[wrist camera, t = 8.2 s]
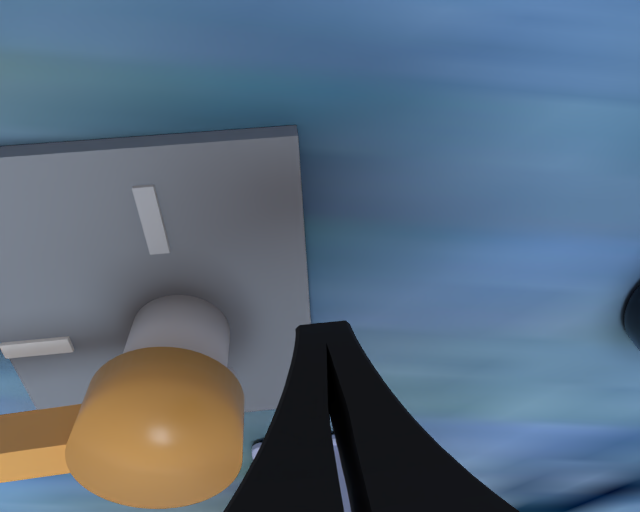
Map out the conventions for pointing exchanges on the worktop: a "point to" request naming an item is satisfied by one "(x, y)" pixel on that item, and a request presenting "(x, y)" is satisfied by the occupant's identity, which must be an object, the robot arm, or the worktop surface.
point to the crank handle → (138, 431)
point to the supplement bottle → (633, 317)
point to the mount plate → (153, 256)
